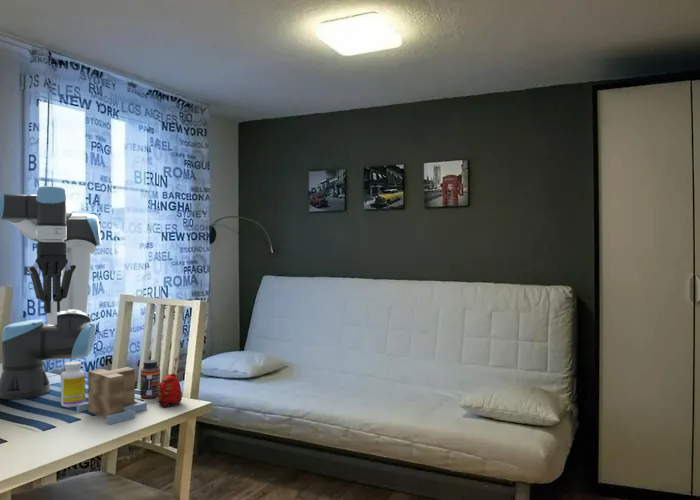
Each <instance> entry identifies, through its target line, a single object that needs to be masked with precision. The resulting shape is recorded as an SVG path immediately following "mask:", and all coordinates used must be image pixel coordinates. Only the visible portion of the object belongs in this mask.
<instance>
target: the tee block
mask: <svg viewBox="0 0 700 500" xmlns="http://www.w3.org/2000/svg"><path fill="white" fill-rule="evenodd" d="M135 372H136V369H135V368H133V367H129V366H126V367H121V368H120V367H119V368H115V369H111V370H107V369H103V368H99V369H92V370H88V371H87V373H88V374H87V375H88V376H87V377H88V378H87V381H88V382H87V385H88V386H87V387H88V388H87V390H88V391H87V392H88V393H87V394H88V395H87V397H88V398H87V400H88V401H87V402H88V410H87V411H88V413H90V412H91V413H90V414H93V415H96V416H98V417H101V418H104V419H106V420H107V416H109V415H113V414H117V413H121V412H124V407H125V406H129V405H133V404H135V399H136V393H135V392H136V389H135V388H136V387H135V386H136V385H135V379H136V376H135V375H136V373H135Z"/></svg>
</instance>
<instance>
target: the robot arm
mask: <svg viewBox="0 0 700 500" xmlns="http://www.w3.org/2000/svg"><path fill="white" fill-rule="evenodd" d="M74 210H75V209H74V203H73V202H72V201H71V200H70V199H69V198H68V196H67V190H66V187H62V186H56V185H55V186H53V185H42V186H40V185H39V186H38V187H37V188H36V194H15V193H12V194H11V193H4V192H3V193H2V192H1V193H0V221H7V222H8V223H10V224H11V225H13V226H14V227H15V228H17V229H19V232H20V233H21V234H22V235H23V236H24V237H25V238H27V239H29V240H31V241H34V242H37V243H36V259H35V261H34V262H35V263H33V264H32V265H30V266H26V271H28V274H29V275H30V278H31V279H30V280H31V283H32V285H33V290H34V294H35V297H36V299H37V300H40V301H41V302H42V301H43V313H45V314H46V323H45V321H44V320H43V319H42V318H41V319H37V318H36V319H30V320H23V321H19V322H14V323H10V324H7V325H6V326H4V327H3V330H2V336H1V337H2V338H1V346H2V347H1V352H2V354H1V355H2V357H1V360H2V365H1V366H2V368H1V369H2V370H1V371H2V372H1V374H0V399H2V400H23V399H29V398H30V399H31V398H36V397H39V396H43V395H45V394H48V393H49V392H50V389H51V388H50V387H51V384H50V381H49V378H48V375H47V373H46V370H45V368H44V367H45V363H44V362H45V361H50V360H51V361H52V360H53V361H54V360H76V359H82V358H84V359H85V358H87V357H89V356H90V354H91V352H92V350H93V347H94V342H95V335H96V325H95V323H94V322H91V321H92V319H91V317H90V316H89V315H88V314H87V312H88V309H87V308H88V300H89V299H88V296H89V283H90V271H91V270H90V269H91V259H92V258H91V257H92V254H94V253H95V252H96V250H97V247H101V245H102V238H101V229H100V223H99V217H98V216H97V215H95V214H93V213H74ZM39 270H40V271H41V273H42V275H41V276H42V280H41V277H40V273H39Z"/></svg>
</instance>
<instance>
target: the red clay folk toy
mask: <svg viewBox="0 0 700 500" xmlns="http://www.w3.org/2000/svg"><path fill="white" fill-rule="evenodd" d="M177 355H178V356H176V358H173V359H174V362H175V363H174V366H173V373H171V374H170V373H169V374H167V375H166V376H164V377H163V378H162V381H160V388H159V392H158V396H157V397H158V398H157V399H158V405H160V406H161V407H162V408H167V407H169V406H170V407H175V406H177V405H178V404H180V403H181V402H182V399H183V398H182V397H183V392H182V388H181V384H180V382H179V379H178V377H177V374H176V373H175V372H176V371H175V370H176V369H177V367H176V365H177V362H178V360H180V358H179V356H180V354H177Z"/></svg>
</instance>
